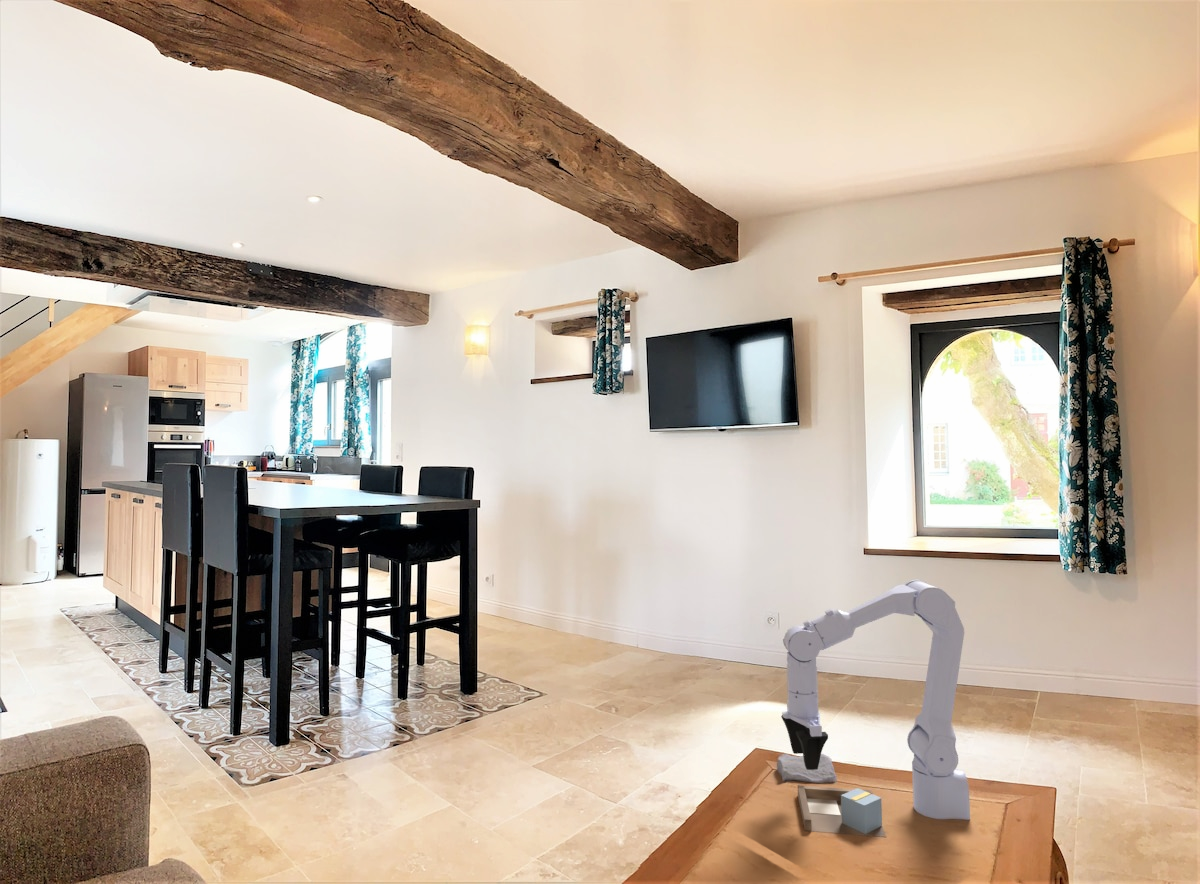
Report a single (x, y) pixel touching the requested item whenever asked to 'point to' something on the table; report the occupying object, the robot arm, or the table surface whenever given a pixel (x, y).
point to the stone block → (796, 769)
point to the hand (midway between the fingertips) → (804, 760)
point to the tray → (827, 811)
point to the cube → (861, 810)
